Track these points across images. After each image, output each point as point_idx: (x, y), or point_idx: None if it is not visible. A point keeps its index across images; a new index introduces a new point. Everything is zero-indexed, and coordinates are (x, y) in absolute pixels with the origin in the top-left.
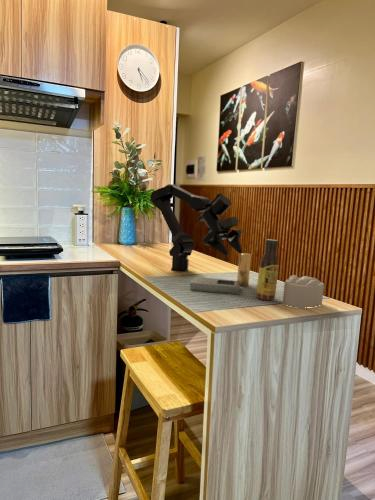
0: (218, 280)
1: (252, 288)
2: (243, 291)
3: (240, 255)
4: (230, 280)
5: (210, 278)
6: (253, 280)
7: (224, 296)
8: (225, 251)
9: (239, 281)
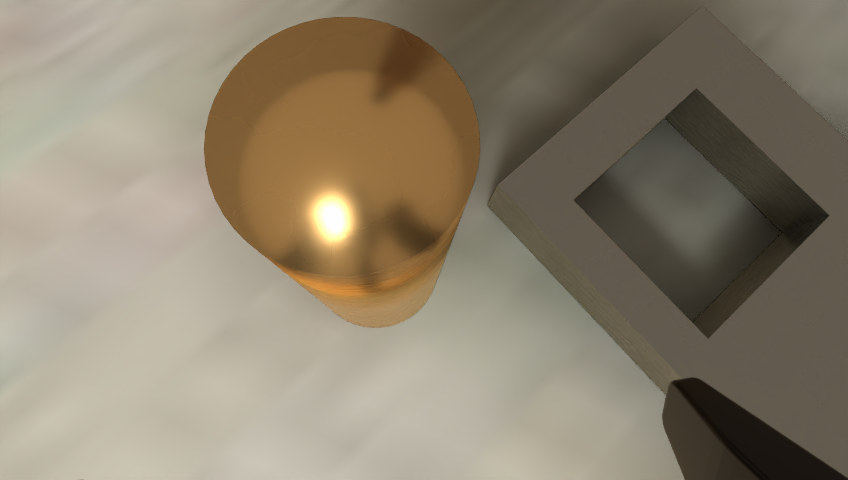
0: (701, 337)
1: None
2: (554, 94)
3: (477, 166)
4: (588, 251)
5: None
6: (72, 368)
7: (827, 61)
8: (763, 440)
9: (521, 173)
